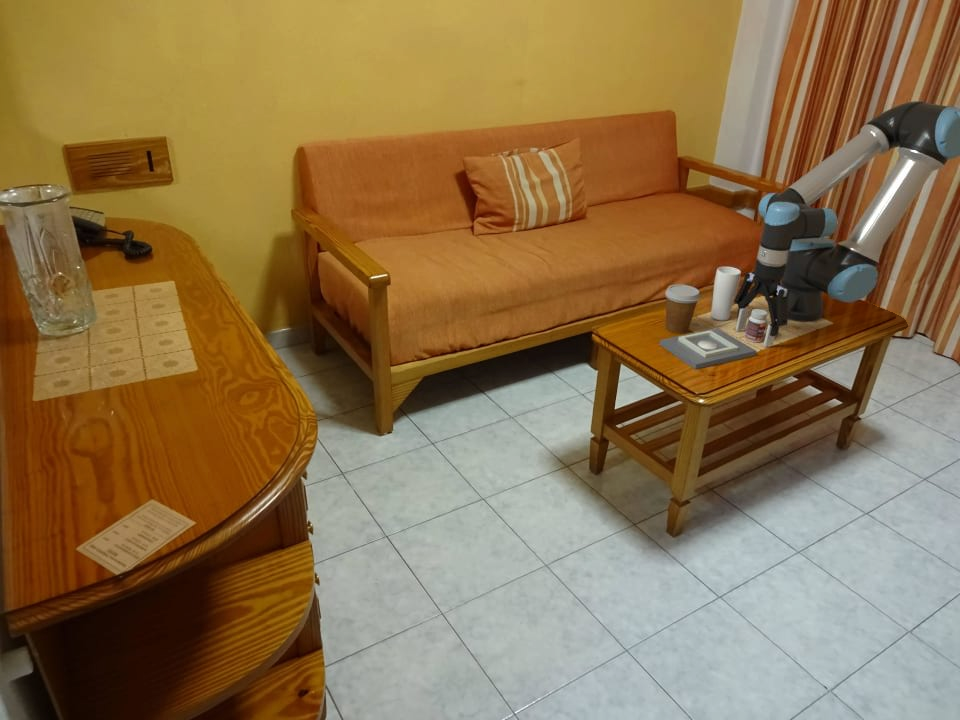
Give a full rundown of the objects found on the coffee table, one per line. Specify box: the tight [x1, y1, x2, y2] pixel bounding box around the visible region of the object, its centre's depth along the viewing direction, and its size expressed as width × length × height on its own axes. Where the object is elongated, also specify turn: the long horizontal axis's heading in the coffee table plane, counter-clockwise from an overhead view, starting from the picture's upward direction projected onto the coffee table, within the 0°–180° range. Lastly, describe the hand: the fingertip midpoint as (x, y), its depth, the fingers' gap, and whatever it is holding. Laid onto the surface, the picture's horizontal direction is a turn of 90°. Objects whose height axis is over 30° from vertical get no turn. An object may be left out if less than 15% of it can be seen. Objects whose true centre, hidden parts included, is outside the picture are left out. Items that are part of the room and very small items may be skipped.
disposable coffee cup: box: [664, 284, 701, 334], centre depth 193 cm, size 10×10×12 cm
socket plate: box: [659, 327, 757, 370], centre depth 183 cm, size 20×15×2 cm
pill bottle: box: [744, 308, 768, 343], centre depth 189 cm, size 5×5×8 cm
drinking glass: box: [710, 266, 742, 322], centre depth 199 cm, size 7×7×15 cm
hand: (753, 337), depth 190 cm, fingers open, 10 cm apart
